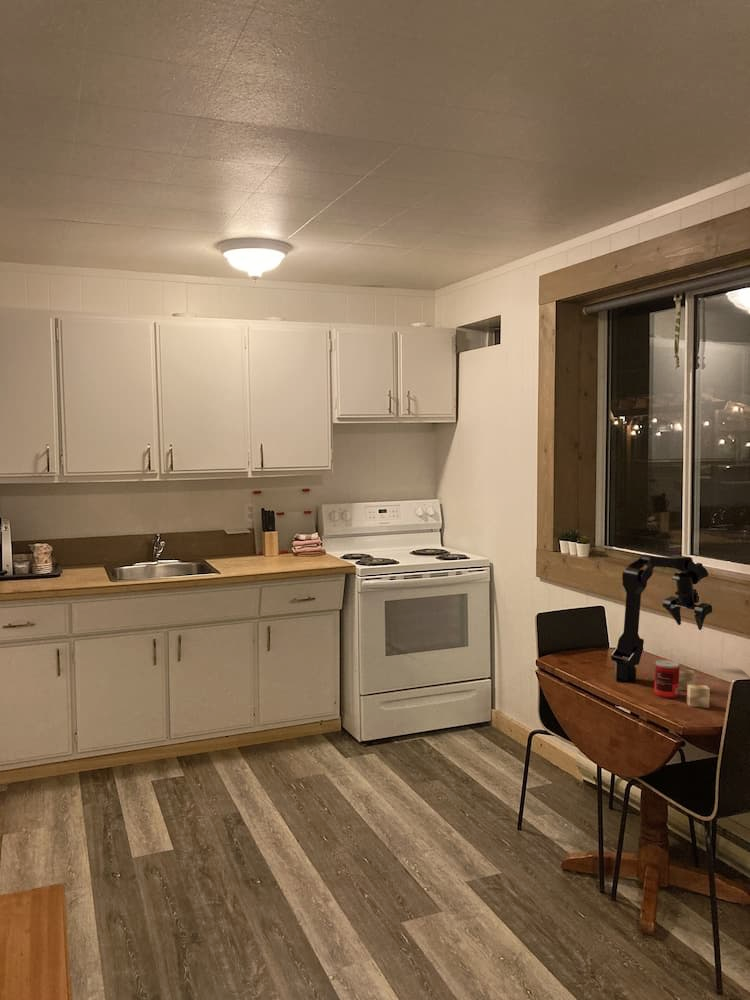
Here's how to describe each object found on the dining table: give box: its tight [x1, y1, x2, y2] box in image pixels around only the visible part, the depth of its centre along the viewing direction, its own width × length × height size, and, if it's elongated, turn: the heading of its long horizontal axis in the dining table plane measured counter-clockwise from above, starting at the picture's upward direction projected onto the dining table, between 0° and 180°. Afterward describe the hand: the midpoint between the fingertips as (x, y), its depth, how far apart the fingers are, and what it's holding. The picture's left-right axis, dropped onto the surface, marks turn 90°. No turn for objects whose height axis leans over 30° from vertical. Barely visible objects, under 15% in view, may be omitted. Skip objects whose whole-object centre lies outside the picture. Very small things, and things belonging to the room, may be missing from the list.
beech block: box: [686, 684, 711, 708], centre depth 272 cm, size 6×4×6 cm, turn 83°
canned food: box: [653, 659, 681, 699], centre depth 281 cm, size 8×8×11 cm
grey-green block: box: [678, 669, 697, 691], centre depth 289 cm, size 6×4×6 cm, turn 83°
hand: (689, 627), depth 316 cm, fingers open, 9 cm apart
